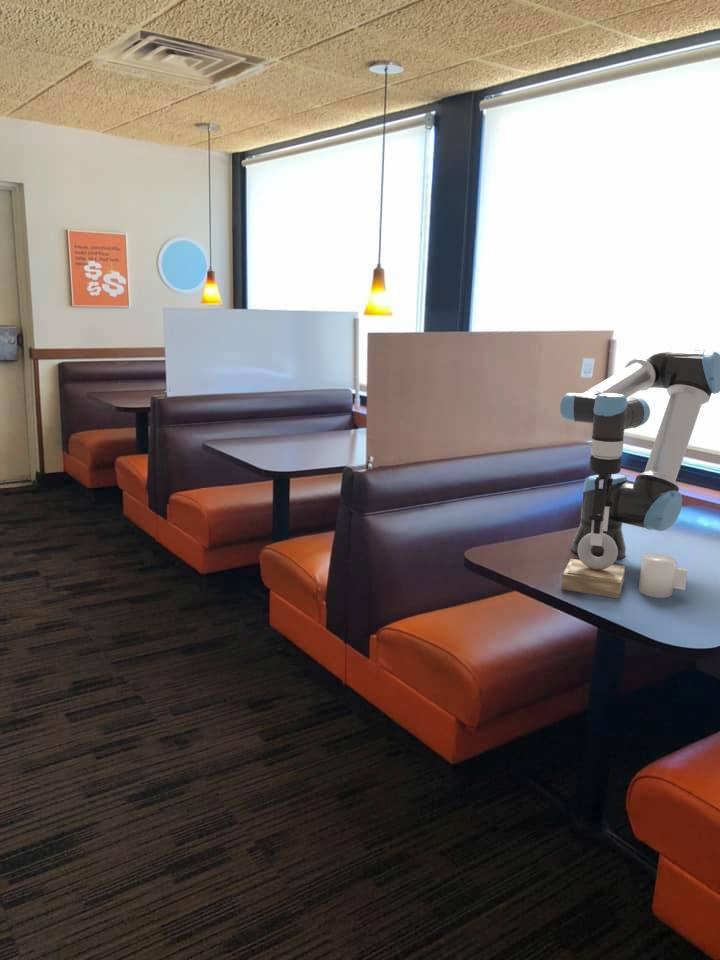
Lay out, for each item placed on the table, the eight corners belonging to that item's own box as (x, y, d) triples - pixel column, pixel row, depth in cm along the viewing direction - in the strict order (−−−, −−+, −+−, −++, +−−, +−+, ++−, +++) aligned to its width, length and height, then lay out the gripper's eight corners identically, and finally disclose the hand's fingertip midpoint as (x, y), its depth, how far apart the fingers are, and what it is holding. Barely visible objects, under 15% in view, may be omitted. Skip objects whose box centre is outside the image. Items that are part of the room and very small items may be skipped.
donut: (574, 568, 196) (578, 531, 194) (576, 564, 200) (580, 527, 197) (615, 574, 193) (619, 536, 190) (616, 570, 196) (620, 533, 194)
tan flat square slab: (569, 572, 206) (570, 557, 205) (623, 580, 201) (625, 565, 200) (561, 589, 194) (562, 573, 193) (619, 598, 188) (620, 581, 187)
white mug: (639, 584, 199) (643, 551, 197) (684, 591, 194) (688, 557, 193) (637, 594, 191) (641, 560, 189) (684, 602, 187) (688, 567, 185)
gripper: (596, 446, 203) (589, 522, 207) (583, 464, 180) (577, 549, 185) (625, 448, 200) (618, 526, 205) (617, 467, 177) (609, 554, 182)
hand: (598, 537), depth 195 cm, fingers open, 13 cm apart
